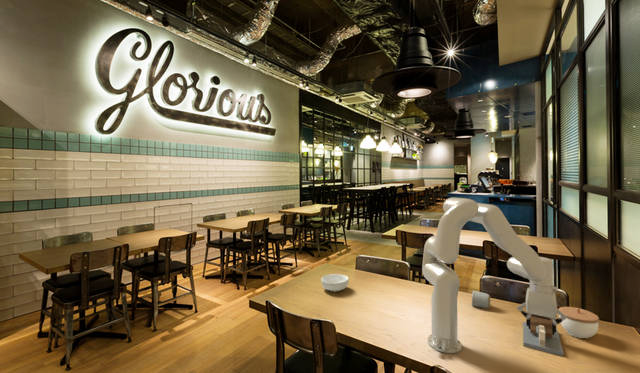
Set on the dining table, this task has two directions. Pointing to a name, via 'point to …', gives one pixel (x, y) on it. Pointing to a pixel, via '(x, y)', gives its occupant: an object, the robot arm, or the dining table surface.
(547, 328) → the walnut slotted block
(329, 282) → the cereal bowl
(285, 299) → the dining table surface
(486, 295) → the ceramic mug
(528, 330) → the slate board
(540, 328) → the maple fin
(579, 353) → the dining table surface
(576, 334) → the lidded bowl
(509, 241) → the robot arm
